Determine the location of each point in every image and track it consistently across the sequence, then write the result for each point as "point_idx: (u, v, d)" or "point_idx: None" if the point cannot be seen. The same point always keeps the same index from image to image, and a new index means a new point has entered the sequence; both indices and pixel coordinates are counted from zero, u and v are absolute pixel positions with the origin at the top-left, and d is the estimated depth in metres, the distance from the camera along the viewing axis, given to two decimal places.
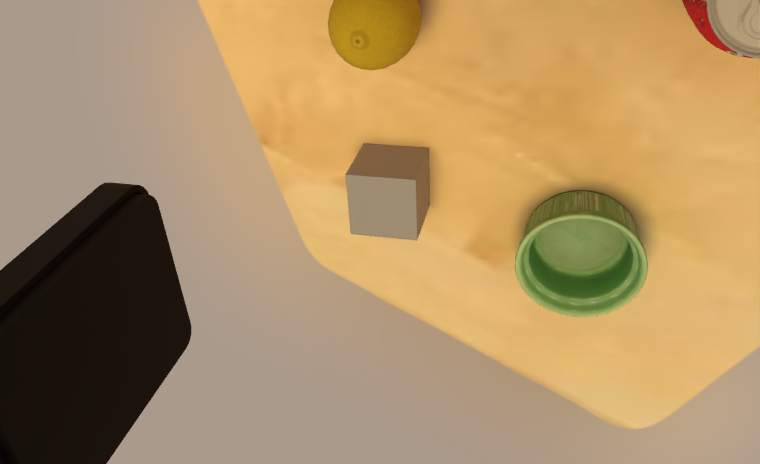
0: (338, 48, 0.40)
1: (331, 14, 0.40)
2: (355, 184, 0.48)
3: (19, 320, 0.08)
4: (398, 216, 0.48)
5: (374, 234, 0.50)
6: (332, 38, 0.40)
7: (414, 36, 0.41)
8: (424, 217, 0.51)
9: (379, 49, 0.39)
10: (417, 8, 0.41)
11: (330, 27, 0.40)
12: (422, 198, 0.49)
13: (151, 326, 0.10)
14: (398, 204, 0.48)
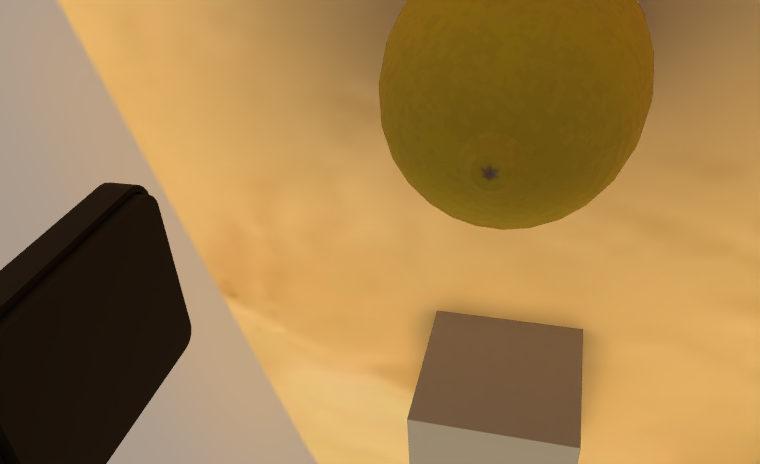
0: (415, 175, 0.13)
1: (393, 71, 0.12)
2: (428, 439, 0.21)
3: (19, 320, 0.08)
4: None
5: None
6: (395, 144, 0.13)
7: (641, 131, 0.13)
8: None
9: (553, 192, 0.12)
10: (651, 46, 0.13)
11: (389, 111, 0.13)
12: None
13: (151, 326, 0.10)
14: None
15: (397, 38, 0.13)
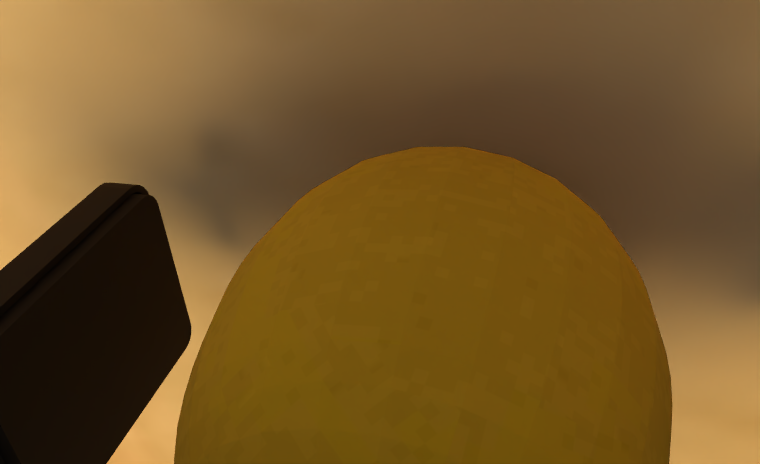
0: None
1: (179, 449, 0.07)
2: None
3: (19, 320, 0.08)
4: None
5: None
6: None
7: None
8: None
9: None
10: (667, 363, 0.07)
11: None
12: None
13: (151, 326, 0.10)
14: None
15: (195, 374, 0.07)
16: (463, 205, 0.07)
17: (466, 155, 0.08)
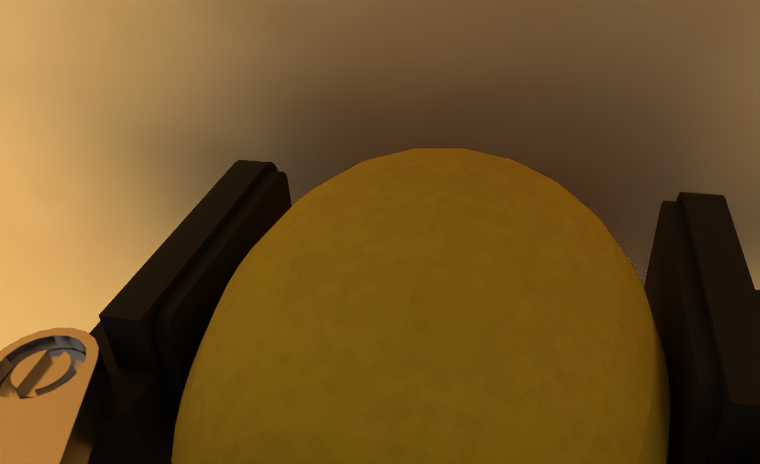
0: None
1: (177, 450, 0.07)
2: None
3: (195, 284, 0.08)
4: None
5: None
6: None
7: None
8: None
9: None
10: (665, 365, 0.07)
11: None
12: None
13: None
14: None
15: (193, 375, 0.07)
16: (462, 206, 0.07)
17: (464, 156, 0.08)
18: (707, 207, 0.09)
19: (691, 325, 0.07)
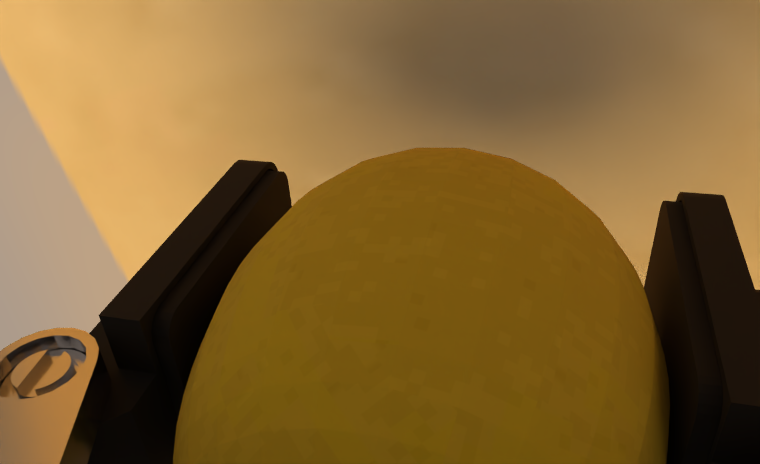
0: None
1: (178, 449, 0.07)
2: None
3: (195, 284, 0.08)
4: None
5: None
6: None
7: None
8: None
9: None
10: (664, 364, 0.07)
11: None
12: None
13: None
14: None
15: (194, 374, 0.07)
16: (461, 207, 0.07)
17: (465, 156, 0.08)
18: (707, 207, 0.09)
19: (691, 325, 0.07)
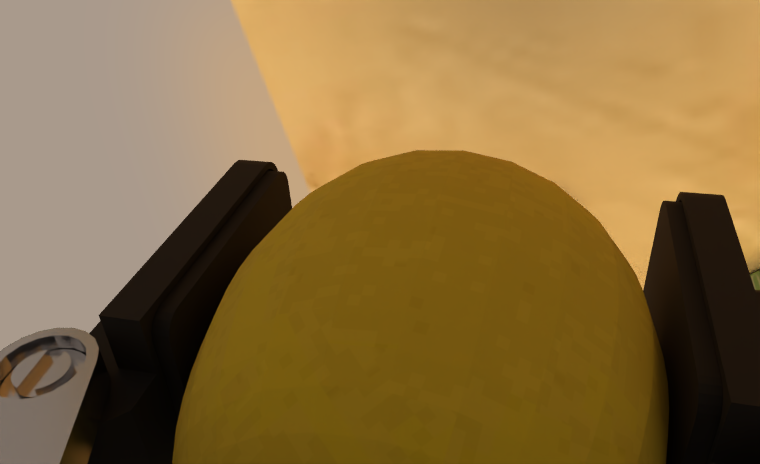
0: None
1: (177, 452, 0.07)
2: None
3: (195, 284, 0.08)
4: None
5: None
6: None
7: None
8: None
9: None
10: (664, 367, 0.07)
11: None
12: None
13: None
14: None
15: (194, 377, 0.07)
16: (461, 210, 0.07)
17: (464, 159, 0.08)
18: (707, 207, 0.09)
19: (691, 325, 0.07)
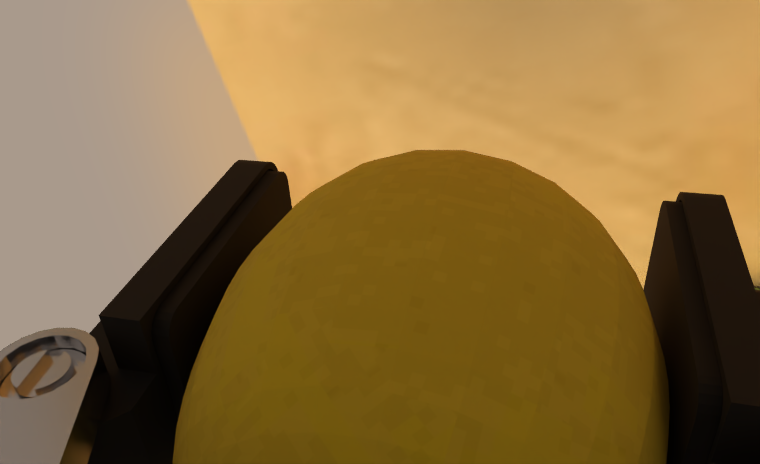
0: None
1: (178, 452, 0.07)
2: None
3: (195, 284, 0.08)
4: None
5: None
6: None
7: None
8: None
9: None
10: (664, 367, 0.07)
11: None
12: None
13: None
14: None
15: (194, 377, 0.07)
16: (461, 209, 0.07)
17: (464, 159, 0.08)
18: (707, 207, 0.09)
19: (691, 325, 0.07)
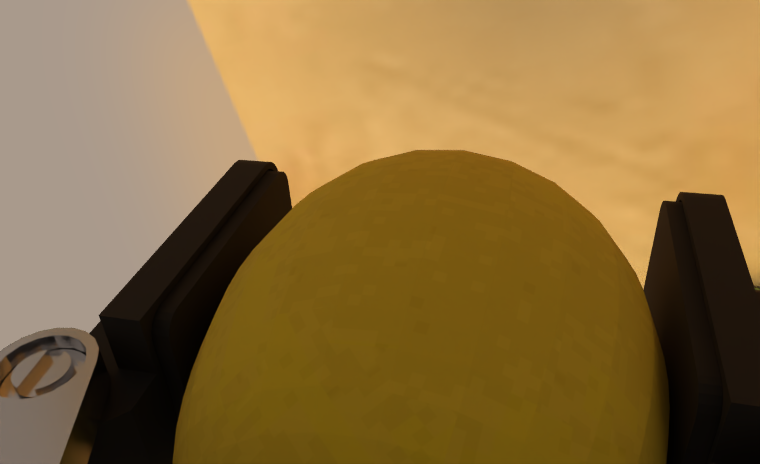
0: None
1: (178, 452, 0.07)
2: None
3: (195, 284, 0.08)
4: None
5: None
6: None
7: None
8: None
9: None
10: (664, 367, 0.07)
11: None
12: None
13: None
14: None
15: (194, 377, 0.07)
16: (461, 209, 0.07)
17: (464, 159, 0.08)
18: (707, 207, 0.09)
19: (691, 325, 0.07)
